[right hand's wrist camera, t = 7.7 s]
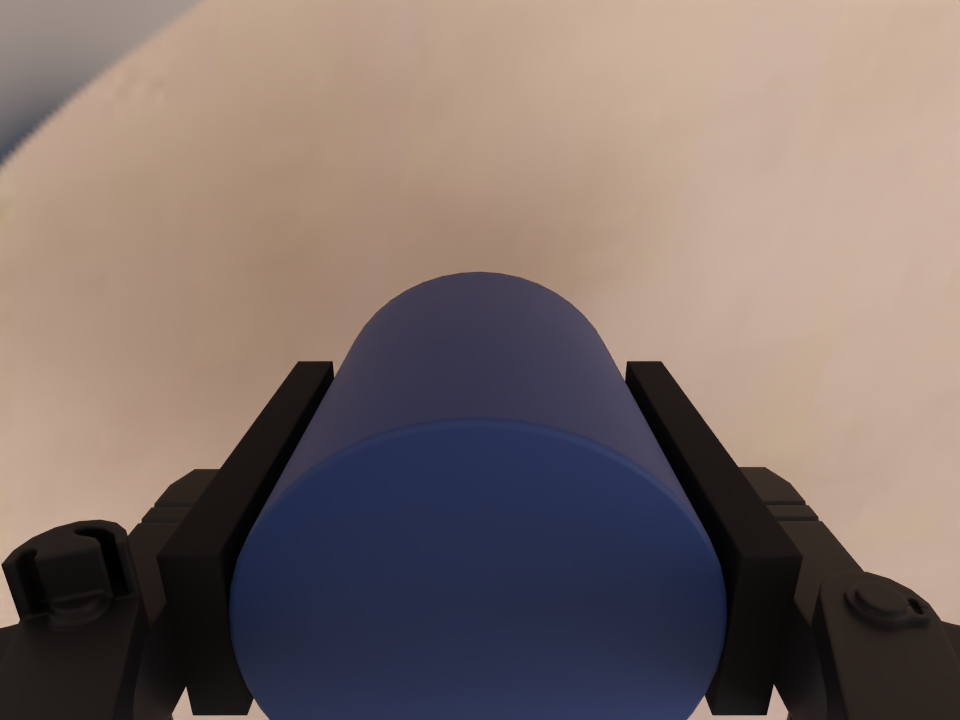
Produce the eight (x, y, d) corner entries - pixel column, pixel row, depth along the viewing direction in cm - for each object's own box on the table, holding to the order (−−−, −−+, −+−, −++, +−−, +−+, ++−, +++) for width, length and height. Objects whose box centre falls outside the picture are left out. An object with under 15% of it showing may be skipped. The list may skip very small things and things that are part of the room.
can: (660, 452, 15) (799, 714, 9) (430, 558, 16) (398, 860, 10) (538, 215, 13) (598, 320, 7) (285, 356, 14) (117, 565, 8)
